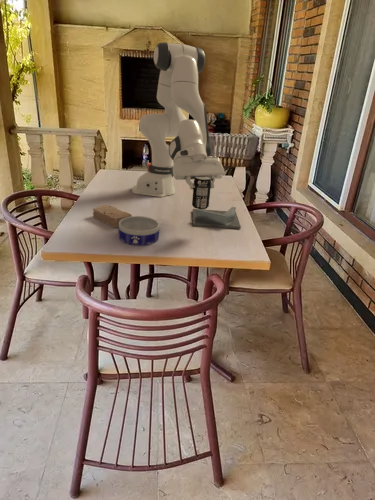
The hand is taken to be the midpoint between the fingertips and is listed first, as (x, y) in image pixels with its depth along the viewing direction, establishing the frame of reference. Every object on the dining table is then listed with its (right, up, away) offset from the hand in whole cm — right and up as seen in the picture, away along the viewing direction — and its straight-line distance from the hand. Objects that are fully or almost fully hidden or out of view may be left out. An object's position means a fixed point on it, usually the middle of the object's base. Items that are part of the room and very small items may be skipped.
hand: (202, 188), depth 144 cm
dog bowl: (-24, -19, 0) cm, 31 cm away
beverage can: (-1, -7, +4) cm, 8 cm away
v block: (+7, -10, +23) cm, 26 cm away
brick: (-37, -12, +14) cm, 41 cm away
